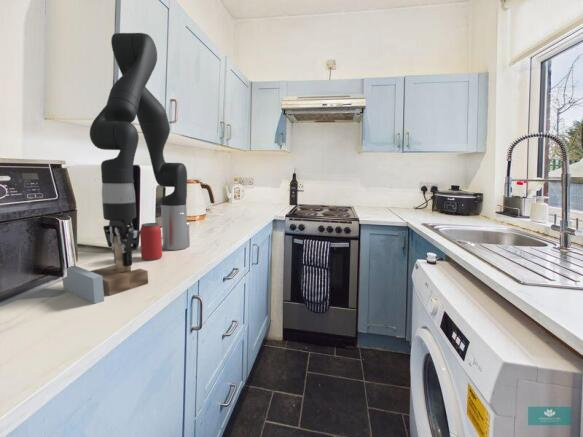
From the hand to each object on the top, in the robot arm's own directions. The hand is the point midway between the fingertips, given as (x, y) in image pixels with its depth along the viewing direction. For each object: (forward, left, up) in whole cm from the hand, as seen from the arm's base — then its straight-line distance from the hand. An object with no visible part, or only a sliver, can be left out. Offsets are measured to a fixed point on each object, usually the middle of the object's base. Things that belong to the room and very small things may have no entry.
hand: (123, 264), depth 80 cm
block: (+2, 0, -5) cm, 5 cm away
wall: (+10, 0, -5) cm, 11 cm away
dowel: (0, 0, -4) cm, 4 cm away
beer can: (-18, -15, -5) cm, 24 cm away
